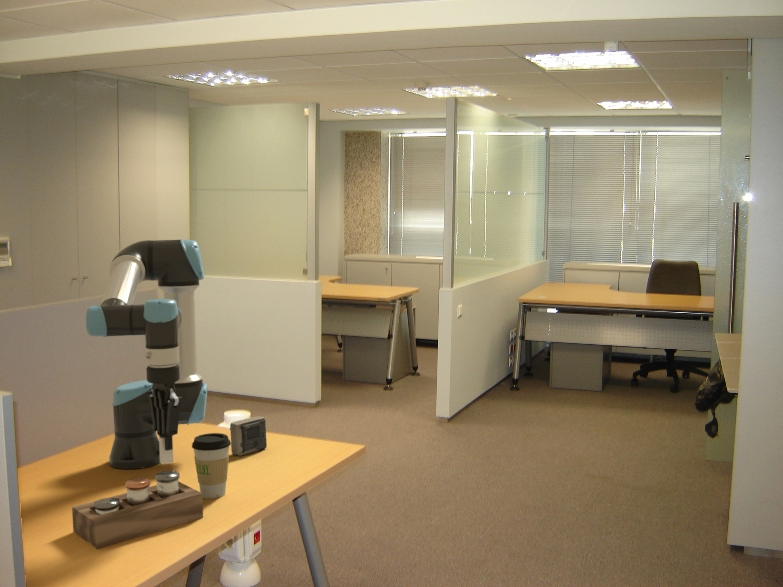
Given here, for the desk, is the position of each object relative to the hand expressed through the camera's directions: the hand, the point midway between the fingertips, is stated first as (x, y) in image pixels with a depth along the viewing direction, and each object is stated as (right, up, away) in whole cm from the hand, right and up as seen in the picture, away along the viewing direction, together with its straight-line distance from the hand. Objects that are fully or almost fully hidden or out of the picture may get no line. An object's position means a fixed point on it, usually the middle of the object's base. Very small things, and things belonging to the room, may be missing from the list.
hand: (166, 462), depth 193 cm
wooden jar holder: (-5, -14, -3) cm, 15 cm away
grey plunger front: (-11, -14, -8) cm, 20 cm away
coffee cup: (+7, -12, +17) cm, 22 cm away
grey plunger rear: (0, -10, +1) cm, 10 cm away
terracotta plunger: (-5, -10, -4) cm, 12 cm away
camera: (+10, -8, +53) cm, 55 cm away
